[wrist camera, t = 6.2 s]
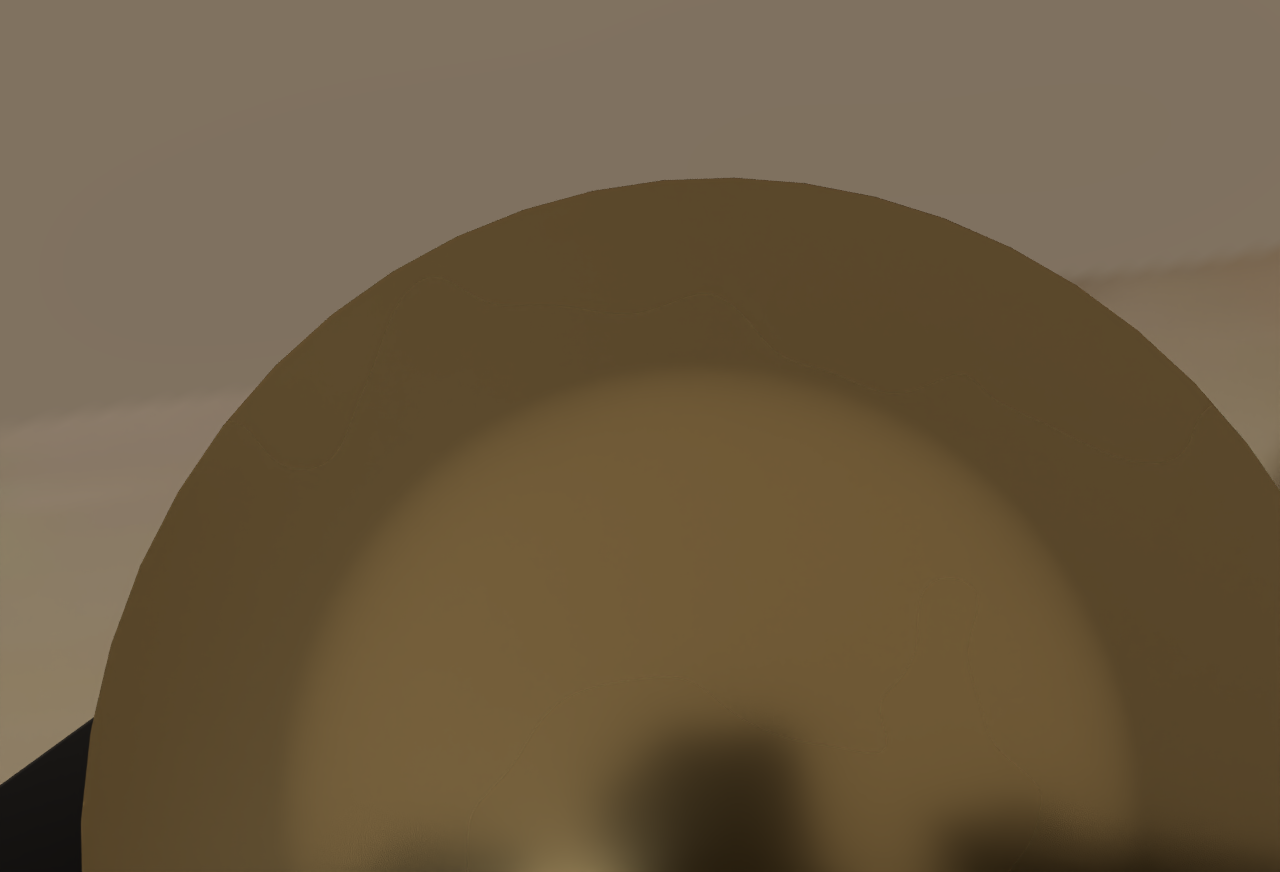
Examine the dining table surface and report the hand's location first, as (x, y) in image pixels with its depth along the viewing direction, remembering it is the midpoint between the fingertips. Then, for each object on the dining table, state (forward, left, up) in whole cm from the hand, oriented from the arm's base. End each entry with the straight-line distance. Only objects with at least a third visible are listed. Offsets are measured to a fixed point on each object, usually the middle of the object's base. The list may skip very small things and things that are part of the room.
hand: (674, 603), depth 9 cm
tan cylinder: (-1, +1, -7) cm, 7 cm away
